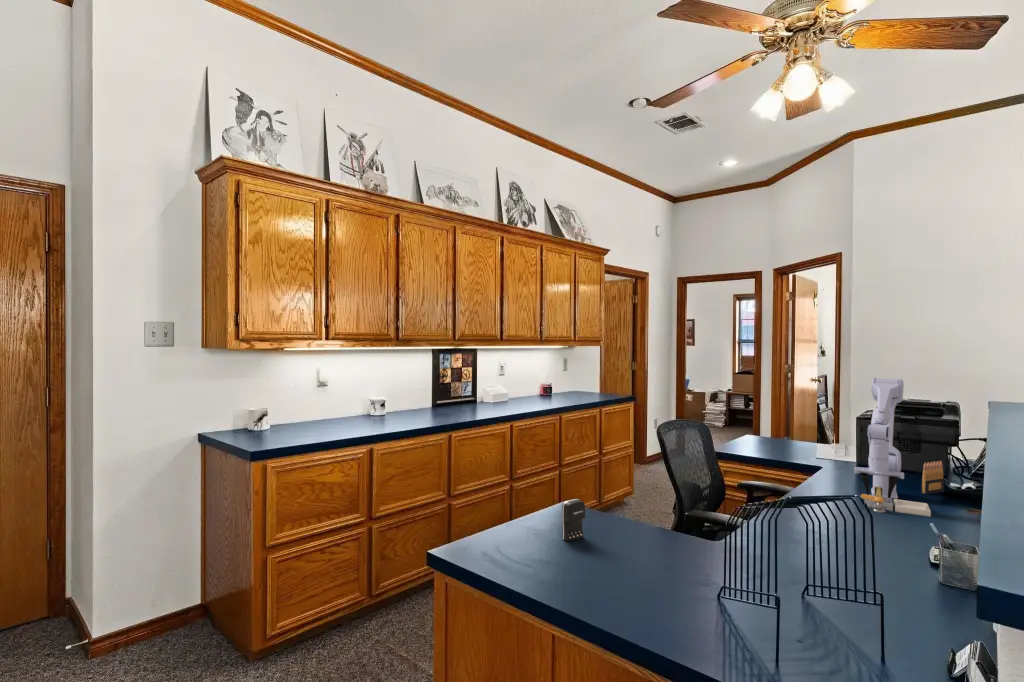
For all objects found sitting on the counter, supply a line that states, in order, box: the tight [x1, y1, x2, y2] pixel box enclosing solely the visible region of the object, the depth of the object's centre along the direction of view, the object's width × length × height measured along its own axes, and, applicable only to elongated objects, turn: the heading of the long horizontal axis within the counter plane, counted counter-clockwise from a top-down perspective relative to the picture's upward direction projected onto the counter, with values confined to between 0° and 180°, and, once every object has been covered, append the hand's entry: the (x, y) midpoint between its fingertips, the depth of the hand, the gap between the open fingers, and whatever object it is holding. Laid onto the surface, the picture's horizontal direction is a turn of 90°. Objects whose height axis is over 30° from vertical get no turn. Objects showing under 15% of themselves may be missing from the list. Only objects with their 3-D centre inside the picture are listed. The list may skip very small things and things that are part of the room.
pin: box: [874, 486, 883, 497], centre depth 192 cm, size 2×2×6 cm
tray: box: [892, 498, 932, 517], centre depth 187 cm, size 10×10×2 cm
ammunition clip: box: [920, 460, 945, 495], centre depth 208 cm, size 11×2×12 cm, turn 110°
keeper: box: [860, 493, 884, 502], centre depth 188 cm, size 7×3×1 cm, turn 42°
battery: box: [561, 498, 586, 542], centre depth 161 cm, size 7×4×11 cm, turn 123°
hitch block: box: [864, 493, 894, 514], centre depth 190 cm, size 13×8×3 cm, turn 148°
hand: (878, 495), depth 192 cm, fingers open, 6 cm apart
